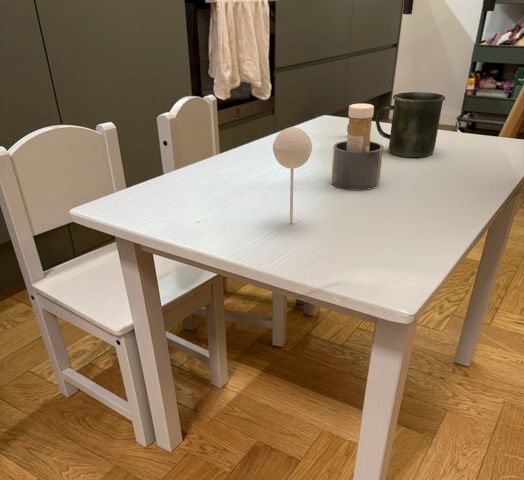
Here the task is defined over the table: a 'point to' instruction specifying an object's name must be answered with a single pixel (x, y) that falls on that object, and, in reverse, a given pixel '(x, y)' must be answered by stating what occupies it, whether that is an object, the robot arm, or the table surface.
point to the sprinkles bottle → (359, 127)
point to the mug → (413, 123)
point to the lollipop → (292, 153)
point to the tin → (356, 166)
